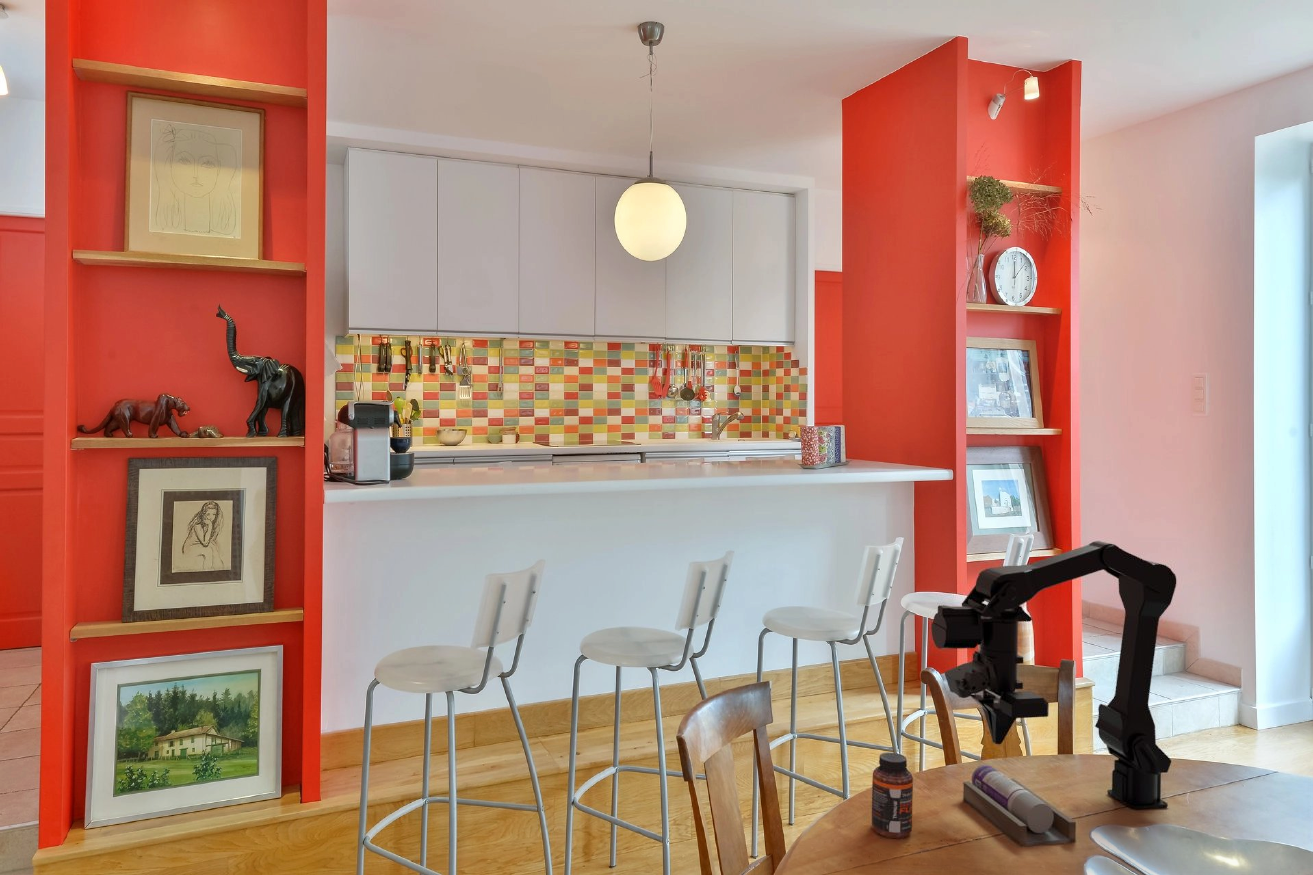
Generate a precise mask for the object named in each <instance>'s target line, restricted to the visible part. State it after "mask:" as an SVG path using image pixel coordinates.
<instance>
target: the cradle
mask: <svg viewBox="0 0 1313 875" xmlns="http://www.w3.org/2000/svg"><path fill="white" fill-rule="evenodd" d="M1010 779H1011V780H1012V781H1014V782H1015V783H1017V784H1018V785H1020V786H1021V787H1023V788H1024V789H1026V790H1027V791H1029V792H1030V793H1031V794H1033V795H1034V796H1035V797H1037V798H1038V799H1040V800H1041V801H1042V802H1044V803H1045V804H1046V805H1048V806H1049V807H1050V808H1051V809H1052V811H1053V815H1054V820H1053V823H1052V825H1051V827H1050V828H1049V829H1048V830H1047V831H1045V832H1043V833H1035V832H1033V831H1032V830H1030V829H1029V828H1027V826H1026V825H1025V824H1024V823H1022V822H1021V821H1020V820H1018V819H1017V818H1016V817H1015V816H1013V815H1012V814H1011V813H1009V812H1008V811H1007V810H1005V809H1004V808H1003V807H1002V806H1000V805H999V804H998V803H996V802H995V801H994V800H992V799H991V798H990V797H989V796H987V795H986V794H985V793H983V792H982V791H981V790H979V789H978V788H977V787H976V786H974V785H973V784H972V782H970V781H963V785H962V786H963V789H962V790H963V791H962V792H963V794H962V795H963V797H962V798H963V799H962V800H963V801H964V802H965V803H966V804H968V805H969V806H970V807H971V808H972V809H974V810H975V811H976V812H977V813H979V815H980V816H982V817H983V818H984V819H985V820H987V821H988V822H989V823H991V824H992V825H993V826H994V827H995V828H997V829H998V831H1000V832H1002V834H1004V835H1006V837H1008V839H1010V840H1011V841H1012V842H1014V843H1015V844H1016V845H1017V846H1019V847H1030V846H1041V845H1043V846H1044V845H1045V846H1046V845H1054V844H1055V845H1057V844H1067V843H1076V838H1077V837H1076V836H1077V833H1076V829H1077V828H1076V827H1077V826H1076V821H1075V820H1074V819H1072V818H1071V817H1070V816H1068V815H1067V814H1065V813H1064V812H1062V811H1061V810H1059V809H1058V808H1057V807H1055V806H1053V804H1051V803H1049V802H1048V801H1047V800H1045V799H1044V798H1042V797H1040V796H1039V795H1038V794H1037V793H1035V792H1034V791H1032V790H1030V789H1029V788H1028V787H1026V786H1025V785H1023V784H1022V783H1021V782H1019V781H1018V780H1017V779H1015V778H1010Z"/></svg>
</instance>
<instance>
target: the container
mask: <svg viewBox="0 0 1313 875" xmlns="http://www.w3.org/2000/svg"><path fill="white" fill-rule="evenodd" d="M1011 779H1012V778H1009V777H1007V776H1006V775H1005V774H1003V773H1002V772H1001V771H999V770H998V769H996V768H995V767H993V766H991V765H989V764H983V765H980V766H977V768H976V769H975V770H974V771H973V772H972V774H971V783H972V784H973V785H974V786H976V787H977V788H978V789H979V790H981V791H982V792H983V793H985V794H986V795H987V796H989V797H990V798H991V799H992V800H994V801H995V802H996V803H998V804H999V805H1000V806H1002V807H1003V808H1004V809H1005V810H1007V811H1008V812H1009V813H1011V814H1012V815H1013V816H1015V817H1016V818H1017V819H1018V820H1020V821H1021V822H1022V823H1024V824H1025V825H1026V826H1027V828H1029V829H1030V830H1032V831H1033V832H1035V833H1043V832H1045V831H1047V830H1048V829H1049V828H1050V827H1051V825H1052V823H1053V820H1054V815H1053V811H1052V809H1051V808H1050V807H1049V806H1048V805H1046V804H1045V803H1044V802H1042V801H1041V800H1040V799H1038V798H1037V797H1035V796H1034V795H1033V794H1031V793H1030V792H1029V791H1027V790H1026V789H1024V788H1023V787H1021V786H1020V785H1018V784H1017V783H1015V782H1014V781H1012V780H1011Z"/></svg>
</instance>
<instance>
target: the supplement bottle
mask: <svg viewBox="0 0 1313 875" xmlns="http://www.w3.org/2000/svg"><path fill="white" fill-rule="evenodd" d="M878 758H879V760H878V764H879V765H878V766H877V767H875V768H874V770H873V771H872V782H871V783H872V784H871V786H872V789H871V791H872V792H871V793H872V794H871V796H872V797H871V828H872V829H873V831H874V832H875V833H876V834H879V835H880V836H883V837H885V838H890V839H903V838H906V837H908V836H910V835H911V834H912V831H913V830H912V828H913V795H914V794H913V793H914V792H913V791H914V790H913V788H914V786H913V785H914V784H913V783H914V776H913V775H912V772H910V771H909V770H908V768H907V767H908V764H907V762H908V761H907V757H906V756H905V755H903V754H900V753H897V752H883V753H880V754H879V756H878Z"/></svg>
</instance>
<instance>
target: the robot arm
mask: <svg viewBox="0 0 1313 875" xmlns="http://www.w3.org/2000/svg"><path fill="white" fill-rule="evenodd" d="M1100 571H1104V572H1106V573H1107V574H1109V575H1111V576H1113V577H1114V578H1116V579H1117V580H1118V593H1119V596H1120V601H1121V603H1122V605H1123V608H1124V612H1125V613H1124V620H1123V630H1122V638H1121V644H1120V645H1121V646H1120V653H1119V660H1118V670H1117V676H1116V682H1115V692H1114V696H1113V698H1112V699H1111V700H1110V702H1109V703H1108V704H1107V705H1106V704H1102V703H1100V704H1099V705H1098V707H1097V708H1098V710H1097V711H1098V717H1097V721H1096V723H1095V725H1094V726H1095V727H1096V728H1097V729H1098V736H1099V739H1101V741H1102V743H1103V744H1105V745H1106V748H1107V751H1108V753H1109V754H1110V755H1111V756H1113V757H1115V758H1117V759H1115V760H1114V761H1113V762H1114V763H1113V764H1114V766H1113V767H1114V768H1113V770H1111V771H1112V772H1111V789H1107V791H1106V792H1107V794H1108V795H1110V796H1111V797H1112V798H1115V800H1117V801H1119V802H1121V803H1123V804H1124V805H1126V806H1128V807H1129V808H1131V809H1133V810H1134V809H1135V810H1142V809H1143V810H1144V809H1153V808H1154V809H1155V808H1167V807H1168V806H1169V804H1168V802H1166V801H1164V799H1161V795H1162V793H1161V792H1162V782H1161V781H1162V774H1163V773H1165V774H1167V773H1168V772H1169V770H1170V767H1171V764H1172V759H1171V758H1170V757H1169V756H1168V755H1167V754H1166V753H1165V752H1164V751H1163V750H1162V749H1161V748H1160V747H1159V746H1158V745H1157V740H1156V737H1157V736H1156V735H1157V734H1156V724H1155V721H1154V719H1153V716H1152V712H1151V710H1150V706H1149V700H1150V694H1151V693H1150V692H1151V684H1152V677H1153V669H1154V660H1155V654H1156V646H1157V638H1158V629H1159V622H1160V619H1161V617H1162V615H1163V614H1164V613H1165V612H1166V611H1167V609H1169V606H1170V605H1171V604H1172V601H1173V597H1174V594H1175V592H1176V591H1175V590H1176V587H1177V576H1176V573H1174V571H1173V570H1172V569H1171V568H1170V567H1169V566H1167V565H1166V564H1162V563H1159V562H1154V561H1150V560H1146V559H1144V558H1141V557H1139V556H1136V555H1134V554H1131V553H1130V552H1127V551H1126V550H1124V549H1122V548H1120V547H1119V546H1117V545H1116V544H1115V543H1114V544H1113V543H1109V542H1105V541H1100V540H1095V541H1094V540H1093V541H1092V542H1090V543H1089V544H1086V545H1084V546H1081V547H1077V548H1074V549H1072V550H1068V551H1066V552H1062V553H1060V554H1057V555H1052V556H1050V557H1047V558H1044V559H1041V560H1038V561H1034V562H1032V563H1029V564H1021V565H1003V566H996V567H988V568H985V569H983V570H982V571H980V572H979V573H978V576H977V578H976V582H975V585H974V587H972V589H971V591H970V592H969V593H968V594H967V596H966V597H965V598H964V600H963V601H962V603H961V606H951V605H944V604H943V605H938V606H937V613H935V615H934V617H933V619H932V622H931V625H930V626H931V629H930V630H931V636H932V640H933V643H934V645H935V647H936V648H937V649H939V650H941V649H945V650H948V649H949V650H951V649H952V650H953V649H959V650H961V649H976V648H977V646H979V650H974V652H973V653H972V661H969V662H965V663H962V664H959V665H958V666H955V667H953V668H951V669H949V670H946V671H944V677H945V679H946V683H947V685H948V686H947V687H948V688H949V691H950V692H951V693H954V694H956V695H957V696H958V697H959V698H960V699H966V698H969V697H970V698H971V699H973V700H974V701H975V702H976V703H977V704H978V705H979V706H980V707H981V708H982V711H983V713H984V716H985V719H986V723H987V727H988V731H989V733H990V737H991V741H992V742H993V744H995V745H1001V744H1003V742H1004V741H1005V738H1006V737H1007V735H1008V734H1009V731H1010V729H1011V728H1012V726H1013V724H1014V723H1015V721H1016V720H1017V719H1028V718H1030V719H1031V718H1047V717H1049V707H1050V706H1049V704H1050V703H1049V702H1048V701H1047V700H1046V699H1045V698H1044V697H1043V696H1041V695H1039V694H1036V693H1035V692H1033V691H1029V690H1028V691H1027V690H1026V691H1016V690H1023V689H1024V682H1023V681H1020V680H1018V665H1019V664H1024V656H1022V655H1019V654H1018V651H1019V650H1018V649H1019V646H1018V645H1019V622H1022V623H1023V622H1032V620H1033V619H1032V617H1031V616H1030V615H1029V614H1028V613H1027V612H1026V611H1025V610H1024V608H1023V607H1022V605H1023V604H1026V603H1027V602H1029V601H1030V600H1032V599H1034V598H1035V596H1037V594H1039V593H1040V592H1041V591H1044V590H1045V589H1048V588H1052V587H1054V586H1058V585H1061V584H1063V583H1066V582H1070V581H1073V580H1076V579H1078V578H1082V577H1084V576H1088V575H1091V574H1094V573H1097V572H1100ZM984 602H986V603H987V604H986V603H984Z"/></svg>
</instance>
